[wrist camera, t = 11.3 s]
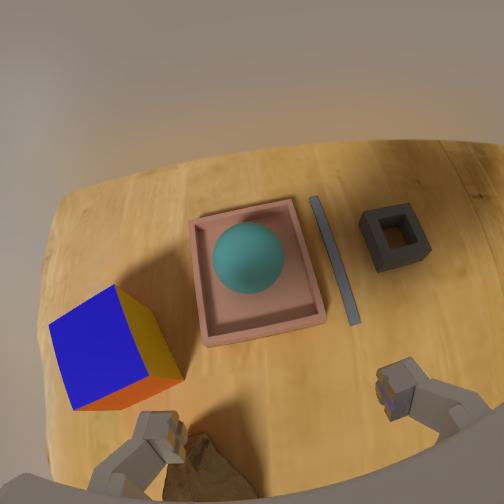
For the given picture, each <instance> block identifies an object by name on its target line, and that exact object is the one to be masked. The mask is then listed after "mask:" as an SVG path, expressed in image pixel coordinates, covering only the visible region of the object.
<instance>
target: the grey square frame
mask: <svg viewBox="0 0 504 504" xmlns="http://www.w3.org/2000/svg"><path fill="white" fill-rule="evenodd" d="M394 226H399V228H400V230H401V232H402V235H403V237H404V239H405V241H406V244H407V245H406V246H402V247H398V248H394V249H390V247H389V244H388V242H387V239H386V237H385V235H384V232H383V230H382V229H385V228H389V227H394ZM359 227H360V229H361V232H362V234H363V236H364V239H365V241H366V244H367V247H368V249H369V252H370V254H371V257H372V260H373V262H374V265H375V268H376V270H377V273H379V272H383V271H387V270H390V269H394V268H397V267H401V266H404V265H408V264H412V263H415V262H418V261H422V260H423V259H424V258H425V257H426V256H427V255H428V254H429V253H430V252H431V250H432V249H431V247H430V244H429V242H428V240H427V238H426V236H425V233H424V231H423V229H422V227H421V225H420V223H419V221H418V219H417V217H416V215H415V213H414V211H413V209H412V207H411V205H410V203H406V204H401V205H395V206H390V207H385V208H380V209H374V210H369V211H364V212H363V214H362V217H361V219H360V222H359Z"/></svg>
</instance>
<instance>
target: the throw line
mask: <svg viewBox="0 0 504 504" xmlns="http://www.w3.org/2000/svg"><path fill="white" fill-rule="evenodd" d="M309 200H310V203H311V206H312V209H313V211H314V214H315V217H316V220H317V222H318V225H319V228H320V231H321V234H322V237H323V240H324V243H325V246H326V249H327V252H328V255H329V258H330V261H331V264H332V267H333V270H334V273H335V276H336V279H337V283H338V286H339V289H340V292H341V296H342V299H343V302H344V306H345V309H346V313H347V316H348V320H349V323H350V326H352V325H355V324H359V323H361V322H360V319H359V316H358V312H357V309H356V305H355V302H354V299H353V296H352V292H351V289H350V286H349V283H348V280H347V277H346V274H345V271H344V268H343V265H342V262H341V259H340V256H339V253H338V250H337V247H336V244H335V242H334V239H333V236H332V233H331V231H330V228H329V225H328V222H327V220H326V217H325V214H324V212H323V209H322V207H321V204H320V201H319V199H318V196H316V197H311V198H309Z"/></svg>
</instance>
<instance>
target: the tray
mask: <svg viewBox="0 0 504 504" xmlns="http://www.w3.org/2000/svg"><path fill="white" fill-rule="evenodd" d="M245 222H252V223H257V224H260V225H263V226H265V227H267V228H268V229H270V230H271V231H272V232H273V233H274V234H275V235H276V236H277V238H278V239H279V241H280V243H281V245H282V248H283V252H284V265H283V269H282V271H281V274H280V276H279V278H278V279H277V280H276V282H275V283H274V284H273V285H271V286H270V287H269V288H267V289H266V290H264V291H261V292H259V293H254V294H242V293H238V292H235V291H233V290H231V289H229V288H228V287H226V286H225V285H224V284H223V283H222V282H221V281H220V280H219V278H218V277H217V275H216V273H215V270H214V267H213V260H212V256H213V250H214V246H215V244H216V242H217V240H218V238H219V237H220V236H221V234H222V233H223V232H224V231H225V230H227V229H228V228H230V227H232V226H234V225H236V224H239V223H245ZM189 232H190V243H191V254H192V264H193V273H194V282H195V291H196V299H197V307H198V315H199V322H200V330H201V337H202V344H203V345H204V346H206V347H208V348H209V347H215V346H221V345H227V344H233V343H238V342H243V341H248V340H253V339H258V338H263V337H268V336H273V335H277V334H282V333H287V332H291V331H295V330H300V329H304V328H308V327H312V326H316V325H320V324H324V323H325V321H326V320H327V316H326V312H325V308H324V305H323V301H322V297H321V294H320V290H319V287H318V283H317V280H316V276H315V273H314V270H313V266H312V263H311V259H310V256H309V253H308V250H307V246H306V243H305V240H304V237H303V233H302V230H301V227H300V224H299V221H298V218H297V215H296V212H295V209H294V206H293V203H292V200H291V199H288V200H283V201H278V202H273V203H268V204H263V205H258V206H253V207H248V208H244V209H239V210H234V211H230V212H225V213H221V214H216V215H212V216H207V217H203V218H199V219H194V220H190V221H189Z"/></svg>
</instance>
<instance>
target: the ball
mask: <svg viewBox="0 0 504 504" xmlns="http://www.w3.org/2000/svg"><path fill="white" fill-rule="evenodd" d="M212 260H213V267H214V270H215V273H216V275H217V277H218V278H219V280H220V281H221V282H222V283H223V284H224V285H225V286H226V287H228V288H229V289H231V290H233V291H235V292H238V293H242V294H254V293H259V292H261V291H264V290H266V289H267V288H269V287H270V286H271V285H273V284H274V283H275V282H276V280H277V279H278V278H279V276H280V274H281V271H282V269H283V265H284V252H283V248H282V245H281V243H280V241H279V239H278V238H277V236H276V235H275V234H274V233H273V232H272V231H271V230H270V229H268V228H267V227H265V226H263V225H260V224H257V223H252V222H245V223H239V224H236V225H234V226H232V227H230V228H228V229H227V230H225V231H224V232H223V233H222V234H221V236H220V237H219V238H218V240H217V242H216V244H215V246H214V250H213V256H212Z"/></svg>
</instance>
